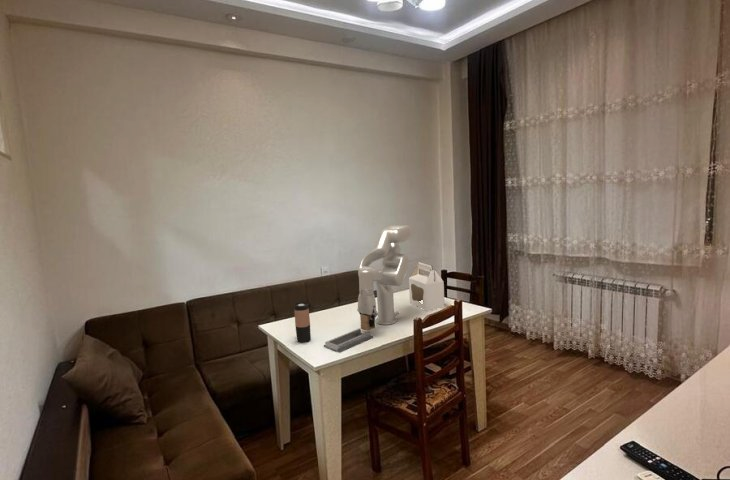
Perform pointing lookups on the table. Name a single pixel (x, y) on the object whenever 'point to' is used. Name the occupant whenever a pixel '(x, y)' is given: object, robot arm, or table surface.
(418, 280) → the gable box
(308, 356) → the table surface
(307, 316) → the travel mug
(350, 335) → the guide channel
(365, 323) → the walnut block
